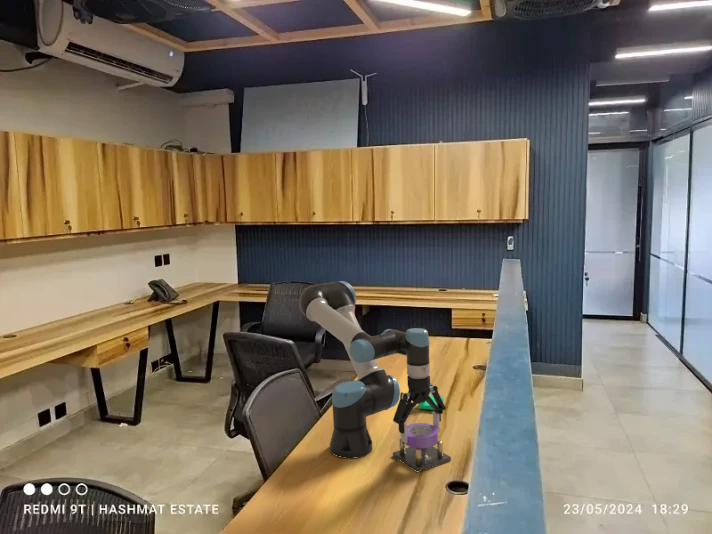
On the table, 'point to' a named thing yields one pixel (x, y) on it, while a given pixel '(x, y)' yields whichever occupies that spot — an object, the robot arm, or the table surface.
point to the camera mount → (426, 405)
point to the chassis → (421, 456)
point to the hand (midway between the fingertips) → (420, 436)
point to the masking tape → (421, 435)
